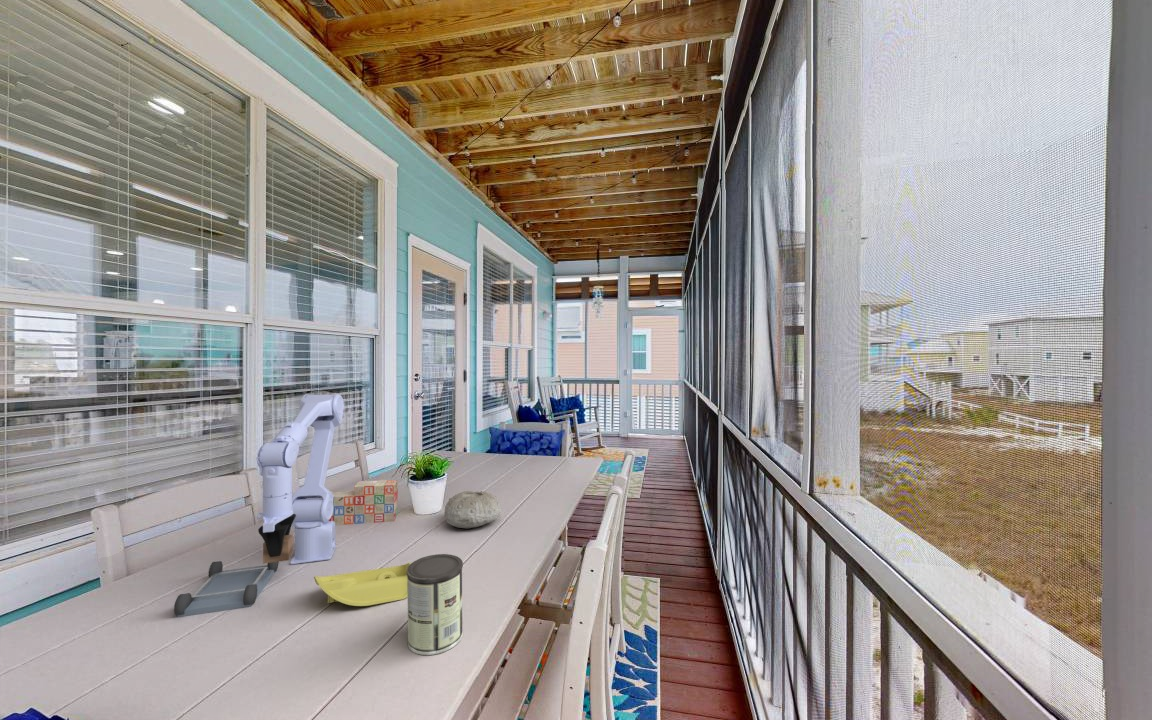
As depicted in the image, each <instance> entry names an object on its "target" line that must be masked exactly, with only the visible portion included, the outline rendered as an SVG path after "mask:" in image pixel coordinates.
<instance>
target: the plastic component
mask: <svg viewBox="0 0 1152 720" xmlns="http://www.w3.org/2000/svg"><path fill="white" fill-rule="evenodd" d="M411 563H412V562H408V563H405V564H402V565H395V566H389V567H388V566H387V567H383V568H382V567H381V568H375V569H368V570H362V571H354V572H353V571H352V572H348V573H340V574H333V575H328V576H327V575H326V576H319V575H317V576H314V577H313V580H314V582H315V584H316V585H317V586H319V588H321V589H322V591H323V592H324V593H325V594H326V595H327V604H329V603H336V602H339V603H342V604H345V605H348V606H354V607H368V606H375V605H378V604H384V603H389V602H390V603H391V602H395V601H400V600H404V599H407V598H408V590H407V568H408V566H409V565H410V564H411Z"/></svg>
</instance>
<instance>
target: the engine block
mask: <svg viewBox="0 0 1152 720" xmlns="http://www.w3.org/2000/svg"><path fill="white" fill-rule="evenodd" d="M293 554H294V534H293V533H292V534H289V535H285V536H284V541H283V548H282V552H281V555H280V556H275V557H270V556H269V554H268V550H267V547H266V544H265V541H263V543H262V564H268V563H271V562H284V561H285V562H286V561H289V560H290V559H291V557H292V555H293Z"/></svg>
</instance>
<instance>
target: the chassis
mask: <svg viewBox="0 0 1152 720" xmlns="http://www.w3.org/2000/svg"><path fill="white" fill-rule="evenodd" d="M279 562H280V561H279ZM279 562H271V563H266V565H258V566H249V567H242V568H241V567H240V568H234V569H226V570H223V567H224V565H223V561H221V560H219V561H218V560H217V561H213V562H212V563H210V565H209V567H208V568H209V569H208V579H207V580H206V581H205V582H204V583H203V584H202V585H201V586H200V587H199V588H198V589H197V590H196V591H195V592H194V594H191V593H190V592H189V593H181V594H179V595H177V597H176V599H175V602H174V606H173V613H174V615H175V616H177V618H182V617H188V616H194V615H203V614H207V613H215V612H220V611H223V612H224V611H230V610H234V609H243V608H249V607H252V606H253V605H254V604H255V603H256V601H257V599H258V597H259V595H260V594H261V593H262V592H263V590H264V588H265V586H266V585H267V584H268V583H269V581H270V580H271V578H272V576H273V575H274V574H275V572H276V571H278V568H279V564H280V563H279Z"/></svg>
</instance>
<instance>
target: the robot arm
mask: <svg viewBox="0 0 1152 720" xmlns="http://www.w3.org/2000/svg"><path fill="white" fill-rule="evenodd" d="M344 403H345V402H344V398H343V396H342V395H341V394H340V393H336V394H310V393H306V394H304V395H303V396H302V397H301V398H300V401H299V412H298V413H297V415H296V416H295V418H294V420H293V421H291V422H287V423H286V424H285V425H283V427H282V428H281V429H280V431H278V433H277V434H276V435H275V436H274V438H273V439H272V440H271V442H266V443H264V444H262V445H261V446H260V447H259V449H258V452H257V457H256V464H257V467H259V474H260V476H261V477H262V512H260V513H258V514H257V515H256V519H258V520H259V519H262V521H263V522H262V525H261V526H260V527H258V531H257V532H258V534H259V535H260V536H261V538H262V539H263V542H265V544H266V547H267V550H268V554H269V556H270V557H275V556H280V555H281V552H282V548H283V541H284V536H285V535H290V531H291V528H294V555H293V557H292V559H291V560H290V562H289V564H290V565H296V564H304V563H312V562H320V561H328V560H331V559H332V557H333V555H334V552H335V551H336V549H337V546H336V525H335V522H334V521H328V520H329V519H330V518H331V516H332V513H333V498H334V496H333V494H332V492H333V491H331V490H330V489H329V488H327V487H326V486H325V483H326V478H327V472H328V470H329V469H328V468H329V462H330V458H331V451H332V446H333V440H334V435H335V430H336V428H337V427H338V426H340V425H341V423H342V421H343V420H342V419H343V416H344V410H345V404H344ZM309 427H311V428H313V429H314V434H313V439H312V442H311V443H312V444H311V449H310V453H309V459H308V463H307V468H306V474H305V477H304V479H305V480H304V482H303V485H302V487H300V488H299V489H297V490H296V491H294V492H293V466H294V465H295V464H296V462H297V458H298V454H299V452H300V448H301V445H302V444H303V442H305V440H306V438H307V437H308V432H309V431H308V429H309Z"/></svg>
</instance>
